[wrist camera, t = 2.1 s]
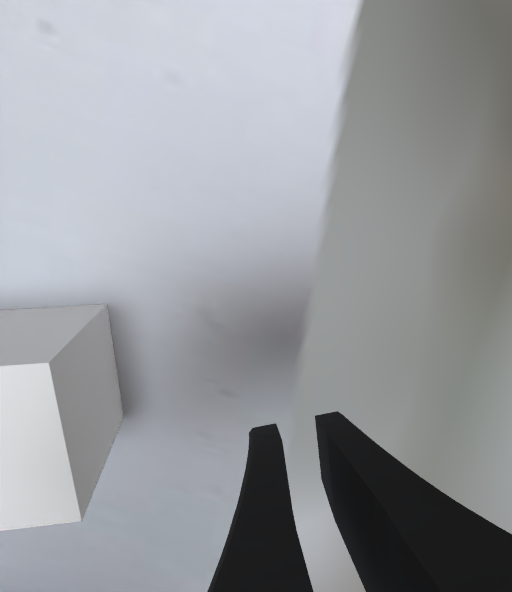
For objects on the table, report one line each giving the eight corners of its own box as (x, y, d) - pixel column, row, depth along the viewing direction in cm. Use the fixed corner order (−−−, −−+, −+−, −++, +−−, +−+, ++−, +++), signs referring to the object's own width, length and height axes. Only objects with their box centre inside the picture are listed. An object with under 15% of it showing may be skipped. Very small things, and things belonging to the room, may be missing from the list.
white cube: (-2, 427, 17) (-113, 544, 11) (-34, 310, 15) (-182, 378, 10) (125, 416, 18) (81, 522, 12) (108, 303, 16) (48, 362, 10)
